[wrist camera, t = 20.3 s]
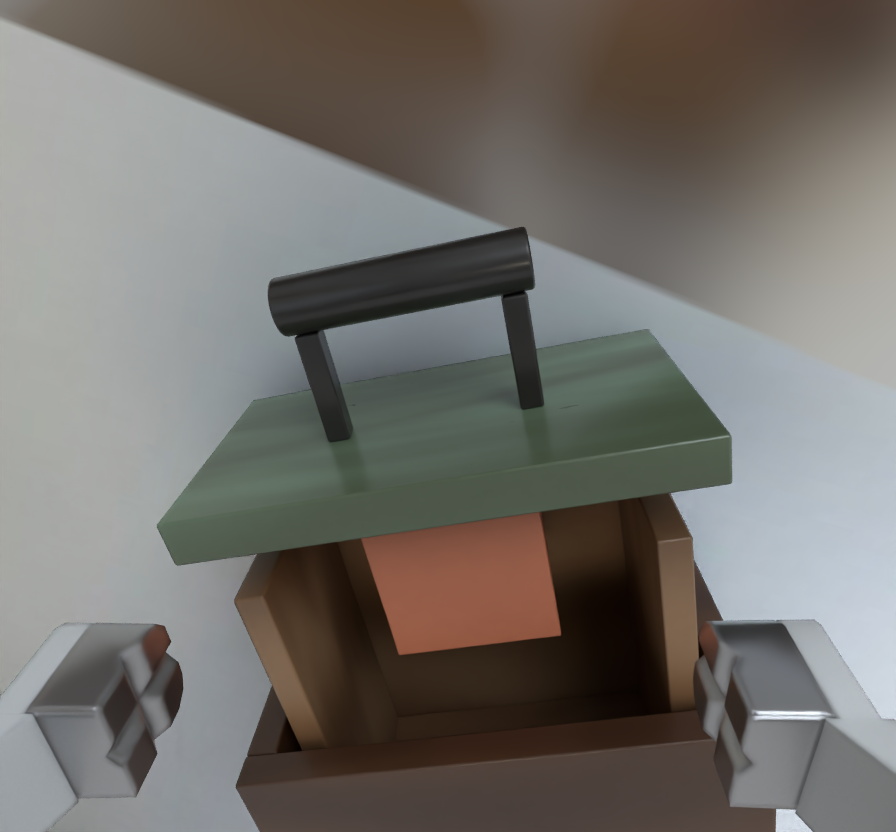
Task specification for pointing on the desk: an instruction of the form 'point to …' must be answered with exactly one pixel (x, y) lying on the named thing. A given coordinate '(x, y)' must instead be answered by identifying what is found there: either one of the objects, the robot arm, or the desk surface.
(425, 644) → the block
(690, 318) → the desk surface
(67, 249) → the desk surface
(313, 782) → the cabinet
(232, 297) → the desk surface
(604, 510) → the drawer
